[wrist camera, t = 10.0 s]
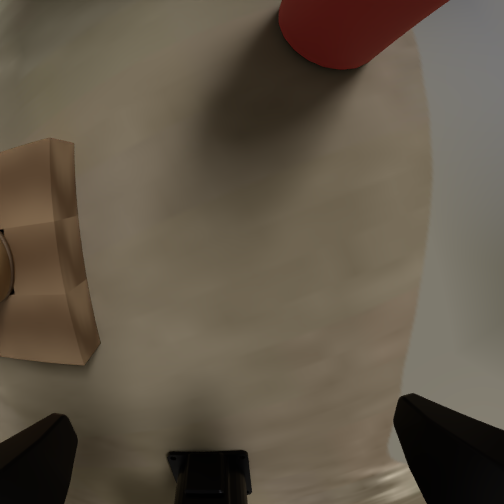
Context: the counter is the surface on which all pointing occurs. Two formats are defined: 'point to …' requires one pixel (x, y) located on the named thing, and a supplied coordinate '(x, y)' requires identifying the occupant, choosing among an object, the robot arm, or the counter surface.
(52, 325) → the board
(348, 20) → the beer can
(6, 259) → the peg
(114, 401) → the counter surface
